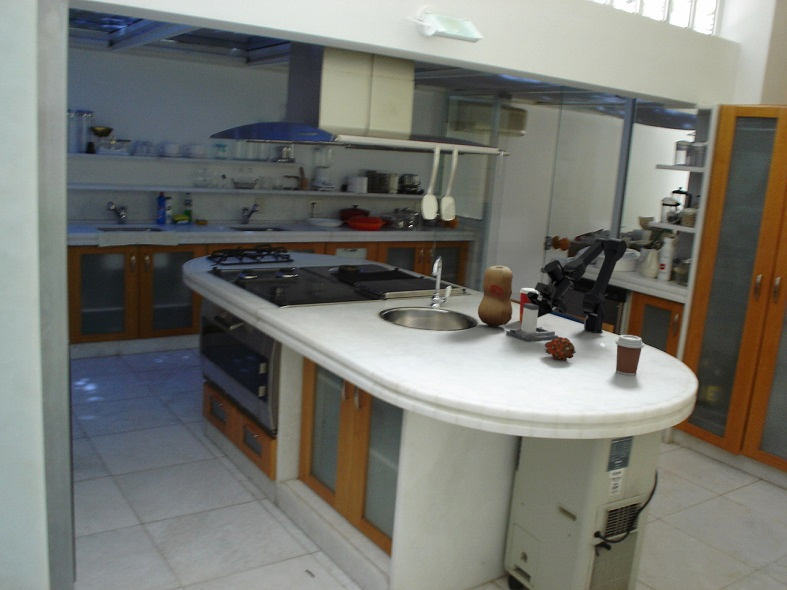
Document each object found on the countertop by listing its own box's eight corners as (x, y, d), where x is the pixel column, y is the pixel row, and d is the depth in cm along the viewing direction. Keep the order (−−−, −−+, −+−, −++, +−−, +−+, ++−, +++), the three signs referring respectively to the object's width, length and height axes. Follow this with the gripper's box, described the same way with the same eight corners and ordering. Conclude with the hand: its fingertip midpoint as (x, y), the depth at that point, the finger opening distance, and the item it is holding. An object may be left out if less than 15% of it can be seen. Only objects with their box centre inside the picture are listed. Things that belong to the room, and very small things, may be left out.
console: (536, 331, 292) (537, 325, 291) (557, 338, 282) (558, 332, 281) (506, 334, 284) (506, 328, 283) (526, 341, 274) (527, 335, 273)
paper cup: (534, 320, 312) (537, 288, 310) (536, 324, 305) (539, 291, 302) (516, 318, 313) (519, 287, 310) (517, 322, 305) (520, 290, 303)
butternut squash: (474, 328, 290) (480, 266, 285) (478, 321, 303) (484, 262, 298) (509, 332, 287) (515, 270, 282) (512, 325, 300) (518, 265, 295)
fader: (529, 331, 285) (532, 303, 283) (538, 334, 281) (541, 305, 279) (518, 332, 282) (520, 303, 280) (526, 335, 278) (529, 306, 276)
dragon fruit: (572, 368, 247) (544, 364, 256) (584, 351, 251) (556, 348, 260) (563, 350, 244) (535, 347, 253) (575, 333, 248) (547, 330, 257)
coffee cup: (618, 366, 248) (622, 332, 245) (644, 373, 242) (649, 338, 240) (607, 371, 241) (611, 336, 238) (634, 378, 235) (638, 342, 233)
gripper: (532, 271, 289) (508, 299, 285) (565, 279, 273) (540, 309, 269) (544, 290, 294) (521, 318, 291) (578, 299, 279) (553, 329, 275)
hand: (533, 318), depth 281 cm, fingers closed, pressing on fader
